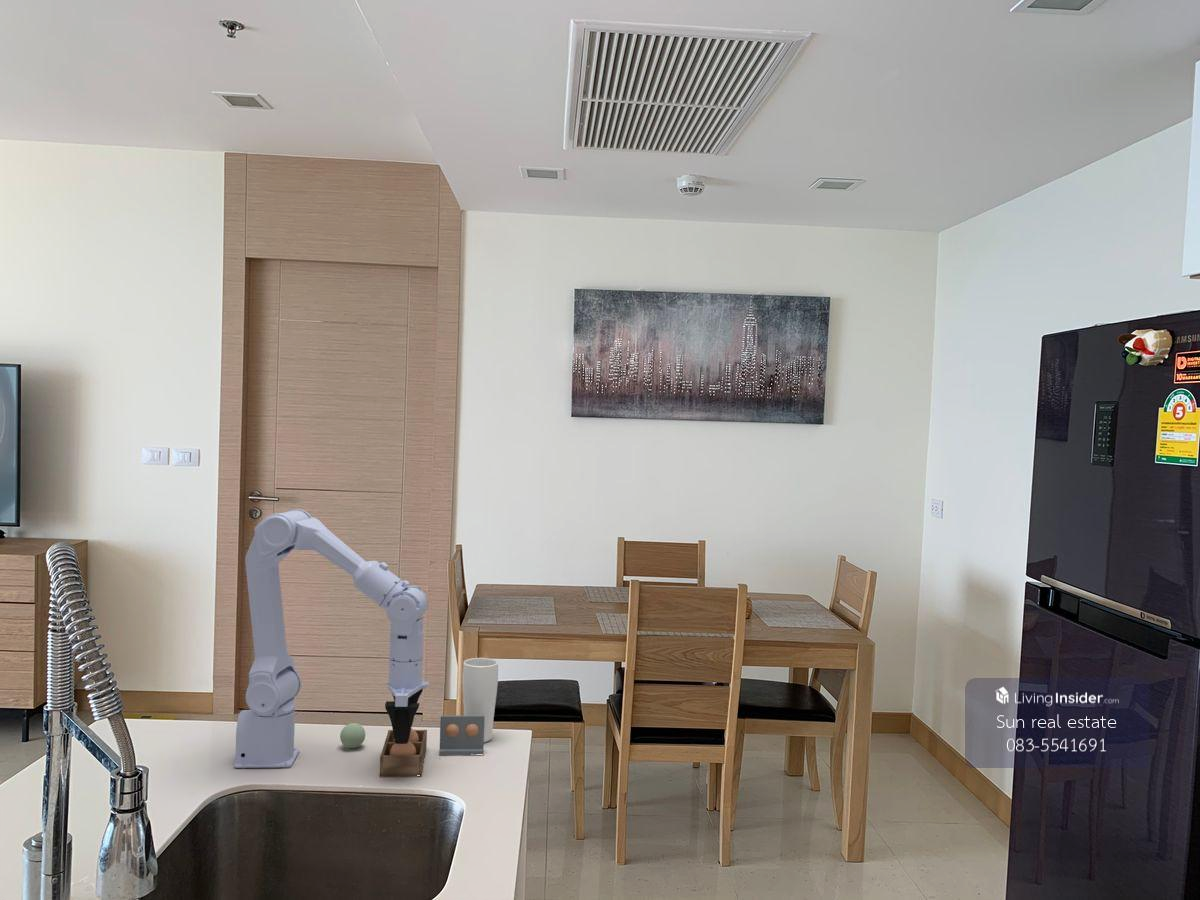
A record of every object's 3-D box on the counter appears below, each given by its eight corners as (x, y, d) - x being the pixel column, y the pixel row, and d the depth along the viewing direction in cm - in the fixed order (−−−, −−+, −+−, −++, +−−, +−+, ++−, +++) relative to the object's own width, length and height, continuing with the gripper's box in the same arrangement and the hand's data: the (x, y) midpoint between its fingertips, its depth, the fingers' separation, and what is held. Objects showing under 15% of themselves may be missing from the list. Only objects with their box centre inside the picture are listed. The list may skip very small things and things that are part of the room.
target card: (439, 755, 167) (440, 718, 166) (439, 749, 170) (441, 713, 169) (483, 755, 168) (484, 718, 167) (483, 749, 171) (484, 713, 170)
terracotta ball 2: (388, 771, 157) (388, 745, 157) (390, 761, 162) (391, 736, 161) (414, 771, 158) (415, 745, 157) (416, 761, 162) (417, 736, 162)
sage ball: (338, 752, 166) (338, 727, 166) (341, 743, 171) (342, 719, 171) (363, 751, 167) (364, 727, 167) (366, 743, 172) (367, 719, 171)
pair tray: (379, 776, 156) (380, 756, 156) (387, 748, 169) (388, 730, 169) (421, 776, 157) (422, 756, 156) (426, 748, 170) (427, 729, 170)
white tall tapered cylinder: (478, 748, 171) (481, 668, 171) (452, 739, 175) (455, 661, 175) (503, 739, 177) (505, 662, 176) (478, 731, 181) (480, 655, 180)
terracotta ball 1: (391, 757, 164) (392, 732, 163) (394, 748, 168) (395, 724, 168) (417, 757, 164) (418, 732, 164) (419, 748, 169) (420, 724, 168)
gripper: (426, 669, 152) (424, 750, 153) (431, 647, 167) (429, 721, 167) (383, 669, 152) (381, 750, 152) (392, 647, 166) (389, 721, 166)
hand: (403, 735), depth 159 cm, fingers open, 7 cm apart
